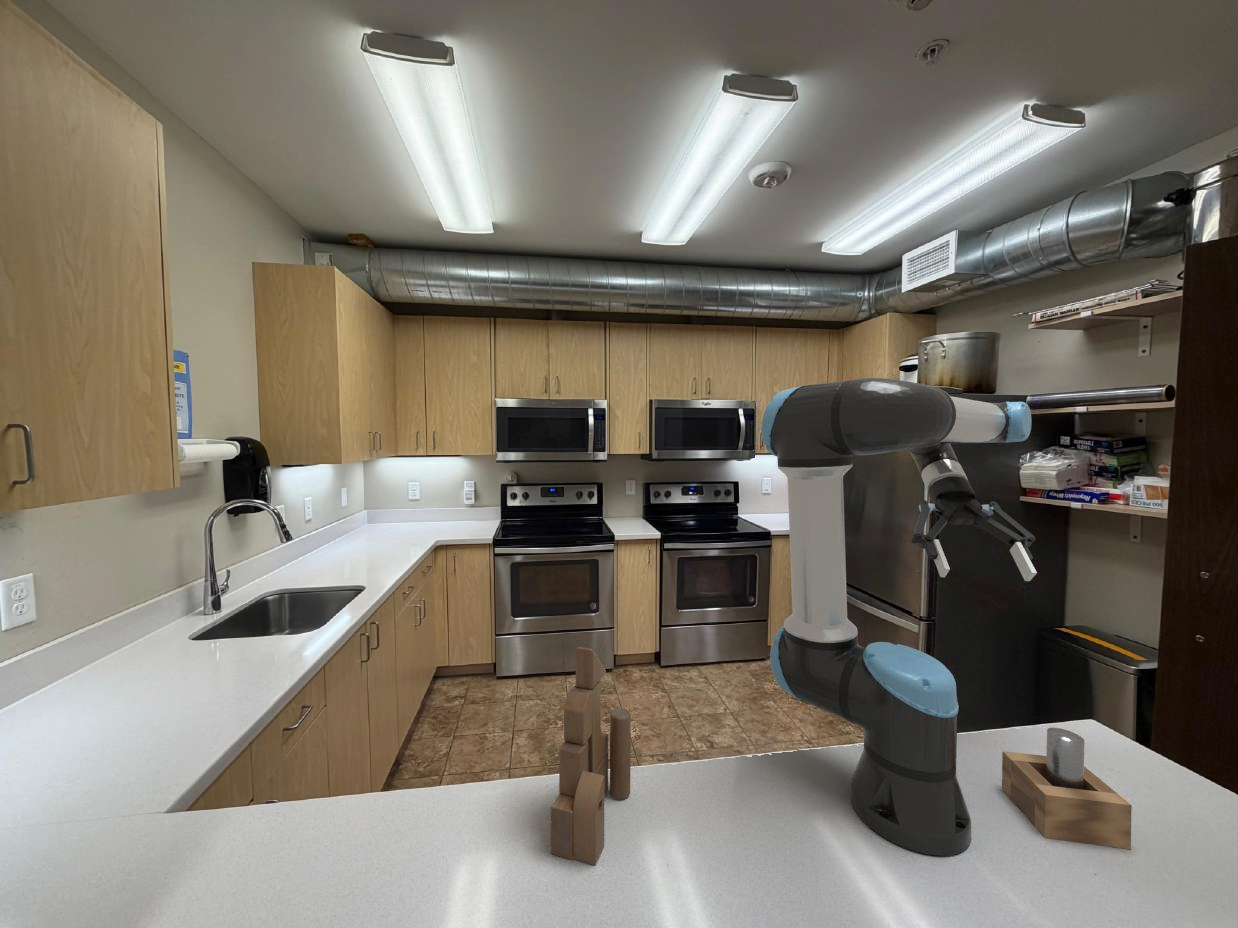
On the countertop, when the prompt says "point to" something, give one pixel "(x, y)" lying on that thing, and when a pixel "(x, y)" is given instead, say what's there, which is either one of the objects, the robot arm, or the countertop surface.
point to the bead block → (1066, 804)
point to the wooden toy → (588, 765)
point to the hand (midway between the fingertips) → (987, 575)
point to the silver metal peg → (1065, 759)
